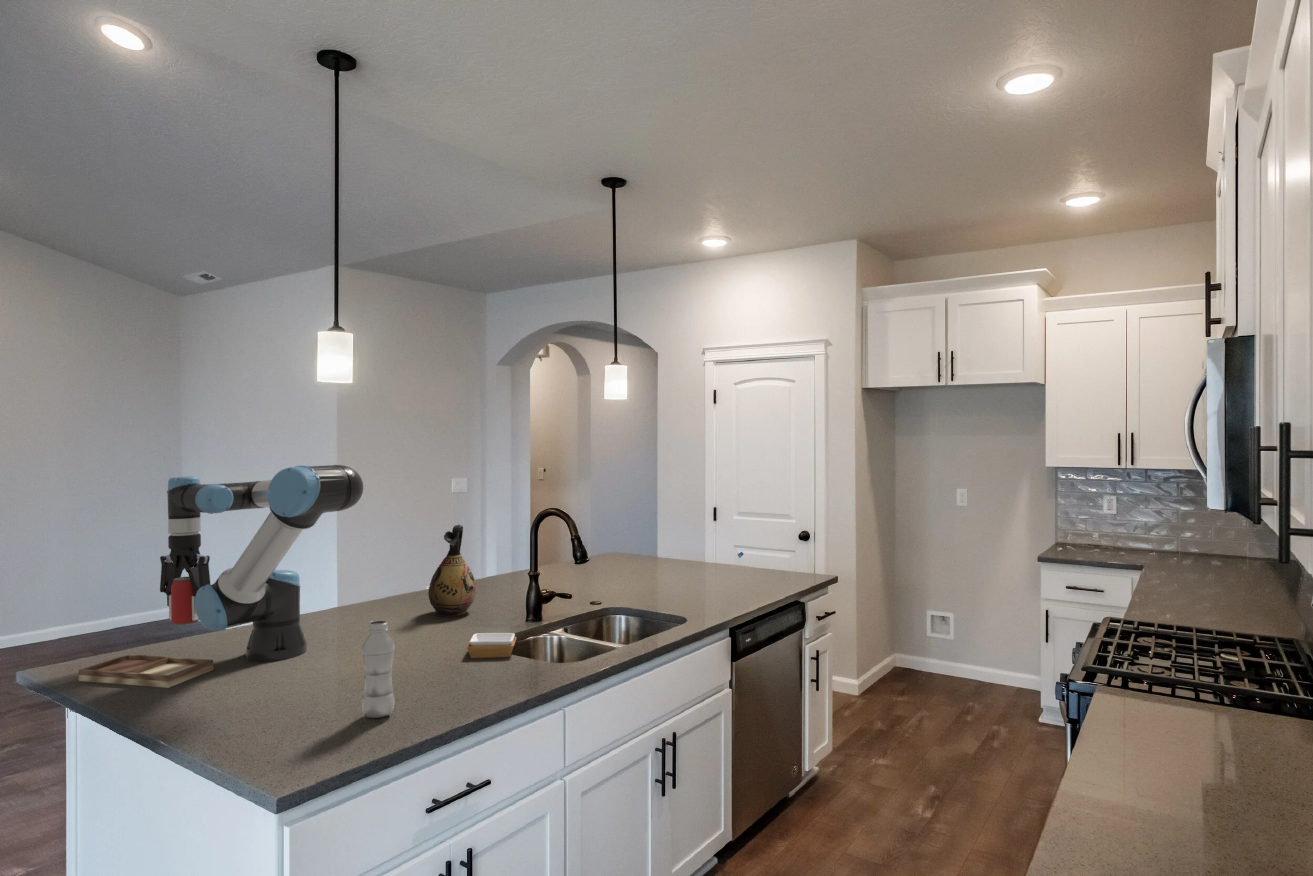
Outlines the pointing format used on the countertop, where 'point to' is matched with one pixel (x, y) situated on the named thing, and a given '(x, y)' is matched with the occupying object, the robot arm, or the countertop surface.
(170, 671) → the caddy tray
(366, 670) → the plastic bottle
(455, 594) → the ceramic jug
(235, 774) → the countertop surface
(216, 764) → the countertop surface
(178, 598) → the beer can
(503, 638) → the soap dish
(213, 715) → the countertop surface
